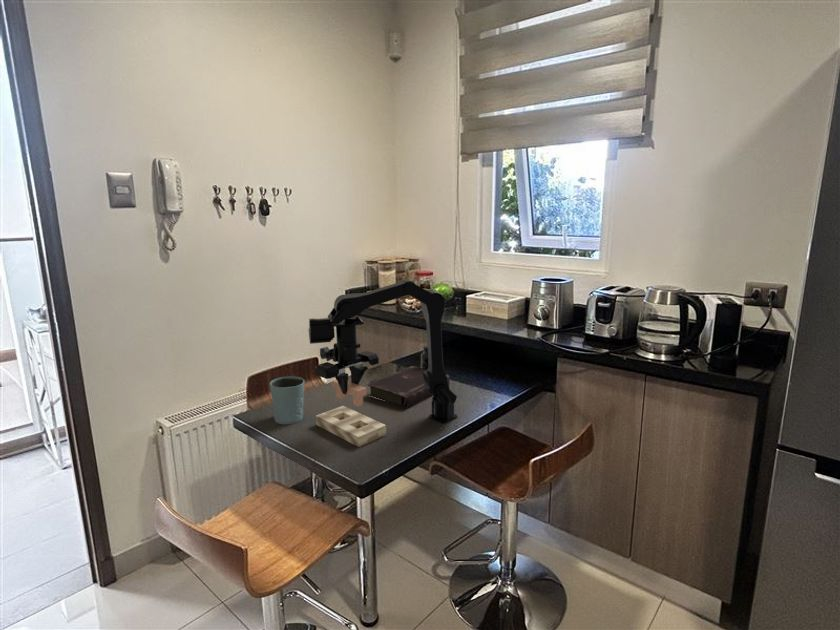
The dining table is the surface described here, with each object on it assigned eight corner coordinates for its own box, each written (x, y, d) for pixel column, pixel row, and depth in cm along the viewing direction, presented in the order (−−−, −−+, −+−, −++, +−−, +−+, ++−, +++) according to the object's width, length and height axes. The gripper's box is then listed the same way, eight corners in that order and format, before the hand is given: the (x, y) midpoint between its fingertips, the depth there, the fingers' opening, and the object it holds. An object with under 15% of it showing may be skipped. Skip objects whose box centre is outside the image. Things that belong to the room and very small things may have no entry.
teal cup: (266, 418, 152) (263, 382, 149) (294, 408, 159) (292, 373, 156) (284, 428, 145) (281, 390, 142) (313, 417, 152) (310, 381, 150)
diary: (450, 388, 178) (450, 374, 177) (407, 411, 158) (407, 396, 157) (409, 376, 189) (409, 364, 187) (365, 397, 169) (364, 383, 168)
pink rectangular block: (366, 404, 139) (366, 388, 138) (358, 408, 137) (357, 391, 136) (341, 393, 147) (340, 378, 146) (332, 396, 145) (332, 380, 144)
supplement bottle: (441, 378, 185) (441, 348, 183) (424, 380, 183) (423, 349, 181) (435, 372, 192) (435, 343, 189) (418, 374, 190) (418, 344, 187)
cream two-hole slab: (386, 434, 141) (385, 425, 140) (358, 447, 134) (358, 436, 133) (343, 414, 154) (343, 405, 154) (316, 424, 147) (316, 415, 147)
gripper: (355, 329, 150) (357, 377, 153) (302, 341, 137) (305, 394, 140) (379, 335, 142) (380, 386, 146) (325, 349, 129) (328, 405, 133)
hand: (349, 392), depth 141 cm, fingers closed on pink rectangular block, 3 cm apart
